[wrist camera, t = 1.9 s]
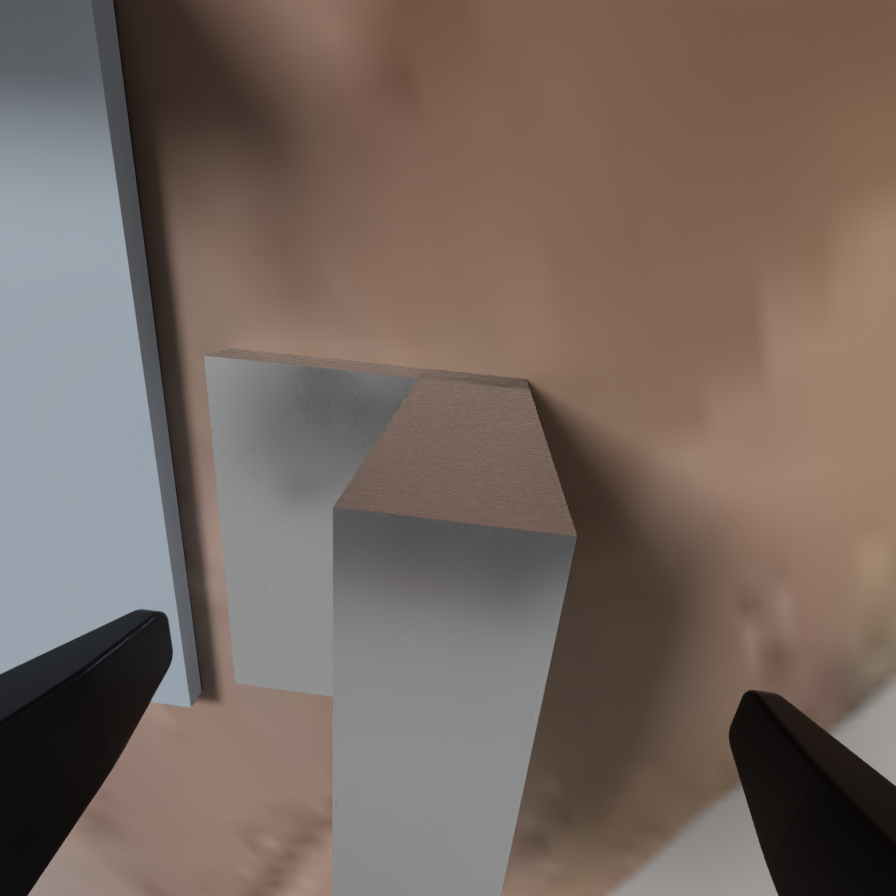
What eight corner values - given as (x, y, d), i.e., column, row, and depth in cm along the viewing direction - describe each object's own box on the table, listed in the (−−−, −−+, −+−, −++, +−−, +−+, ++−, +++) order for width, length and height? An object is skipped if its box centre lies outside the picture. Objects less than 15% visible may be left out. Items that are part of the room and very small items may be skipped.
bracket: (526, 378, 9) (577, 536, 4) (480, 683, 12) (472, 1030, 7) (231, 347, 10) (-123, 452, 4) (254, 652, 13) (63, 960, 7)
